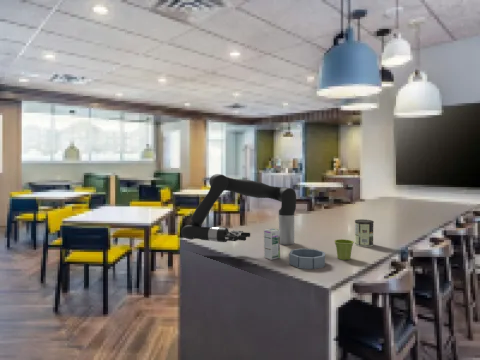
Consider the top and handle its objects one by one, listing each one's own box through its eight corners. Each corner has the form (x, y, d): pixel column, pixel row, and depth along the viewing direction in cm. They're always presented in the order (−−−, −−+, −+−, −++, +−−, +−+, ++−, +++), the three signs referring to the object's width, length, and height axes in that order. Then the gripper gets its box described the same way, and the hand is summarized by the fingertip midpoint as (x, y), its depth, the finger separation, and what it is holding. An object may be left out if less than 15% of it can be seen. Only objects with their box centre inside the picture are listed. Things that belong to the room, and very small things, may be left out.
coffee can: (367, 242, 202) (367, 219, 201) (376, 246, 191) (377, 222, 191) (351, 243, 200) (351, 219, 199) (360, 247, 190) (360, 222, 189)
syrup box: (271, 260, 166) (271, 231, 165) (263, 257, 171) (263, 229, 170) (280, 258, 169) (280, 229, 168) (272, 255, 174) (272, 227, 173)
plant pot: (331, 259, 167) (331, 242, 166) (337, 254, 175) (337, 238, 174) (350, 262, 162) (350, 244, 161) (355, 257, 169) (356, 240, 169)
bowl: (292, 257, 170) (292, 247, 170) (325, 259, 166) (325, 249, 166) (287, 267, 155) (287, 256, 154) (324, 270, 150) (324, 259, 150)
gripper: (213, 230, 170) (244, 232, 166) (222, 225, 184) (251, 226, 179) (213, 244, 170) (244, 247, 166) (222, 238, 184) (251, 240, 180)
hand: (248, 236), depth 173 cm, fingers open, 8 cm apart
